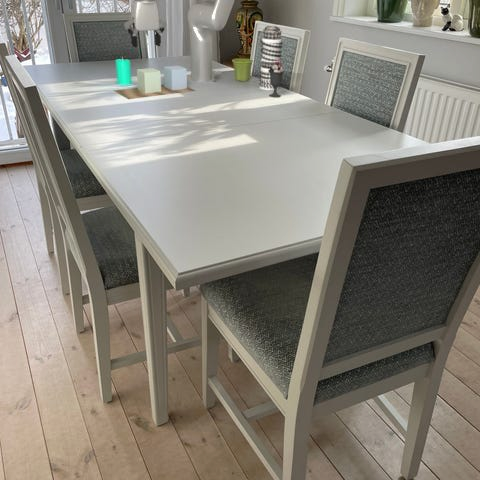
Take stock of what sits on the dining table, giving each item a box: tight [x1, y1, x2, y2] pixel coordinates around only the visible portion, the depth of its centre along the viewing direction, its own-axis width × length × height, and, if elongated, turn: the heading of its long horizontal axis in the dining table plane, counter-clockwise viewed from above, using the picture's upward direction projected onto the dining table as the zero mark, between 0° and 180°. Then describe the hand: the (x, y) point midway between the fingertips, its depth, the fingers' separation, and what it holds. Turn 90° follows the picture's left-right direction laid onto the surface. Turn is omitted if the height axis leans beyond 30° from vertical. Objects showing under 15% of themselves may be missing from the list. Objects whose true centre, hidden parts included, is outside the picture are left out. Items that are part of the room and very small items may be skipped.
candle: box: [115, 56, 132, 86], centre depth 216 cm, size 6×6×12 cm
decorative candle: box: [258, 25, 283, 91], centre depth 218 cm, size 9×9×25 cm
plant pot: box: [231, 58, 254, 82], centre depth 234 cm, size 9×9×9 cm
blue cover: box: [163, 65, 188, 90], centre depth 213 cm, size 7×7×8 cm
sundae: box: [268, 57, 285, 98], centre depth 209 cm, size 7×7×15 cm
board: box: [113, 84, 197, 100], centre depth 210 cm, size 30×15×2 cm, turn 124°
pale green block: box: [136, 67, 162, 93], centre depth 207 cm, size 7×7×8 cm
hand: (146, 46), depth 200 cm, fingers open, 9 cm apart
